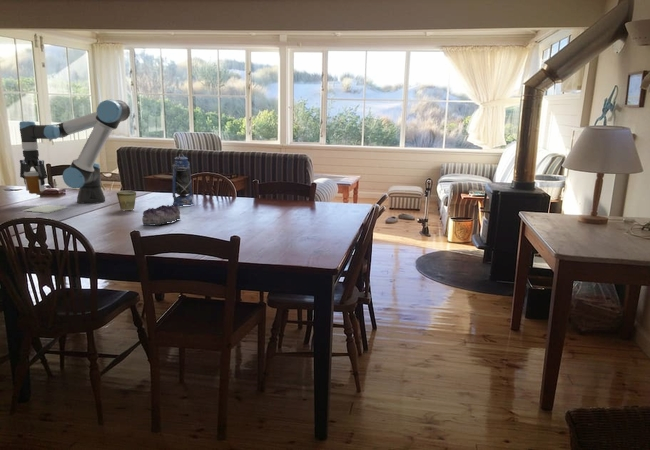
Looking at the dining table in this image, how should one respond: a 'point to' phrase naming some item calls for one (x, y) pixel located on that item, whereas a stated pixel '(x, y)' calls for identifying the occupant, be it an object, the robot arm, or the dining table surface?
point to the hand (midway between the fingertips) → (35, 190)
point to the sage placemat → (46, 208)
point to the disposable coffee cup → (32, 182)
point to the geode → (161, 215)
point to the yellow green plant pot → (126, 199)
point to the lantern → (182, 182)
